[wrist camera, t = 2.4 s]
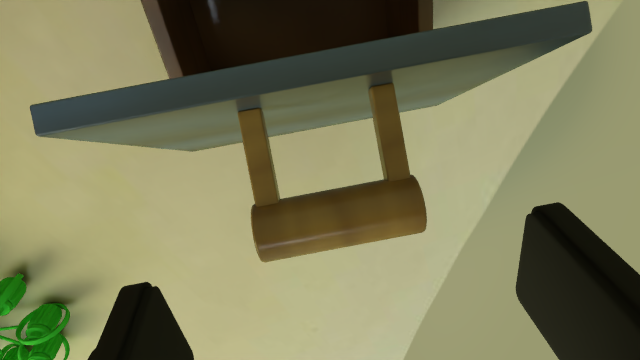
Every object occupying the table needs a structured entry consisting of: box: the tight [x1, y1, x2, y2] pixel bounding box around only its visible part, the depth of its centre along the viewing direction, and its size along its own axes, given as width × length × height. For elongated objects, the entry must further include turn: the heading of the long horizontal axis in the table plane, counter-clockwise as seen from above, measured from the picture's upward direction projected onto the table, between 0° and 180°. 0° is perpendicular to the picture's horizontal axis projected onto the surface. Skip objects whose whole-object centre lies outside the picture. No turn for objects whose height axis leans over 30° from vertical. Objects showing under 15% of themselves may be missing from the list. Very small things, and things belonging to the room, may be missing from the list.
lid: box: [30, 1, 592, 262], centre depth 16 cm, size 13×14×5 cm
